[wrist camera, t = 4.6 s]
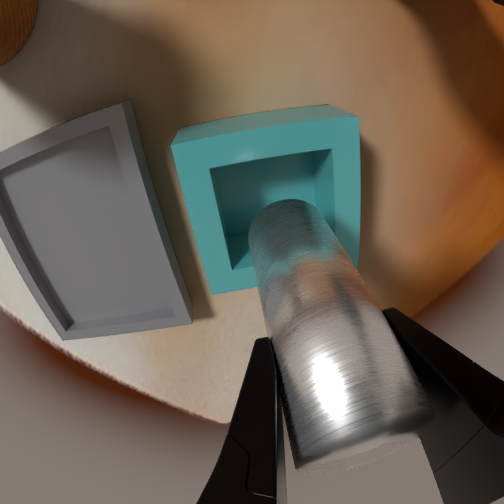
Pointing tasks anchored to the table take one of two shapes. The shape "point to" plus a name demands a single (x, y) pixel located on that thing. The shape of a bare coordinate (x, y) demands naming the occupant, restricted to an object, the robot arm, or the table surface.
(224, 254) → the teal square open box
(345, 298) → the steel pin
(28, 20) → the disposable coffee cup
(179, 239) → the table surface
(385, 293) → the table surface
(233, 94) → the table surface
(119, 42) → the table surface
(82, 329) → the charcoal tray
